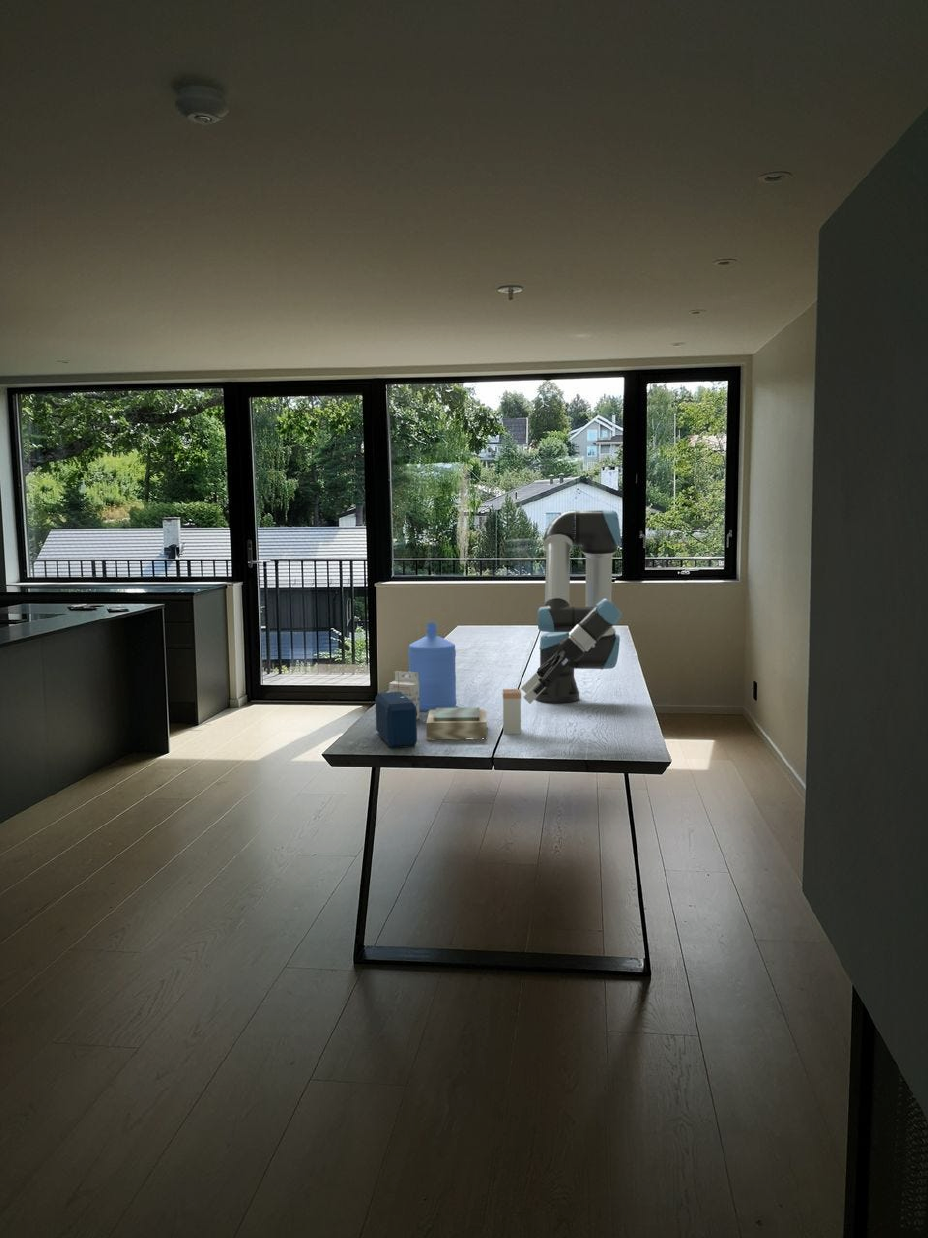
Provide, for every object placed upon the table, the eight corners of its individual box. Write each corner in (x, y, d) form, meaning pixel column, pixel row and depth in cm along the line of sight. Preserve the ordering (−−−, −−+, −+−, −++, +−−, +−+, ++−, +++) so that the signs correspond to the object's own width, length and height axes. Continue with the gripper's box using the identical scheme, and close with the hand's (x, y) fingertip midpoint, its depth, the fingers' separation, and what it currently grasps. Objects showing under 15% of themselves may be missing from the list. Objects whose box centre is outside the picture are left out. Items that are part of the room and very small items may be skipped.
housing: (520, 728, 273) (520, 689, 272) (521, 733, 267) (521, 693, 266) (502, 729, 274) (502, 689, 272) (503, 734, 267) (503, 693, 266)
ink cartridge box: (388, 720, 287) (387, 673, 285) (395, 716, 292) (394, 670, 290) (414, 721, 284) (413, 674, 283) (420, 718, 289) (419, 672, 287)
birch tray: (486, 725, 278) (486, 706, 277) (486, 739, 261) (486, 718, 260) (430, 725, 278) (429, 706, 278) (426, 739, 261) (426, 719, 261)
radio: (420, 747, 253) (419, 676, 251) (389, 750, 251) (387, 678, 249) (403, 730, 273) (402, 663, 271) (374, 732, 271) (373, 665, 269)
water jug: (446, 713, 295) (445, 627, 291) (401, 710, 300) (399, 625, 297) (463, 704, 309) (462, 621, 306) (420, 701, 315) (418, 619, 311)
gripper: (591, 659, 254) (537, 713, 255) (580, 646, 278) (531, 696, 280) (571, 640, 253) (518, 695, 255) (563, 629, 278) (514, 679, 280)
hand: (525, 696), depth 268 cm, fingers open, 13 cm apart
